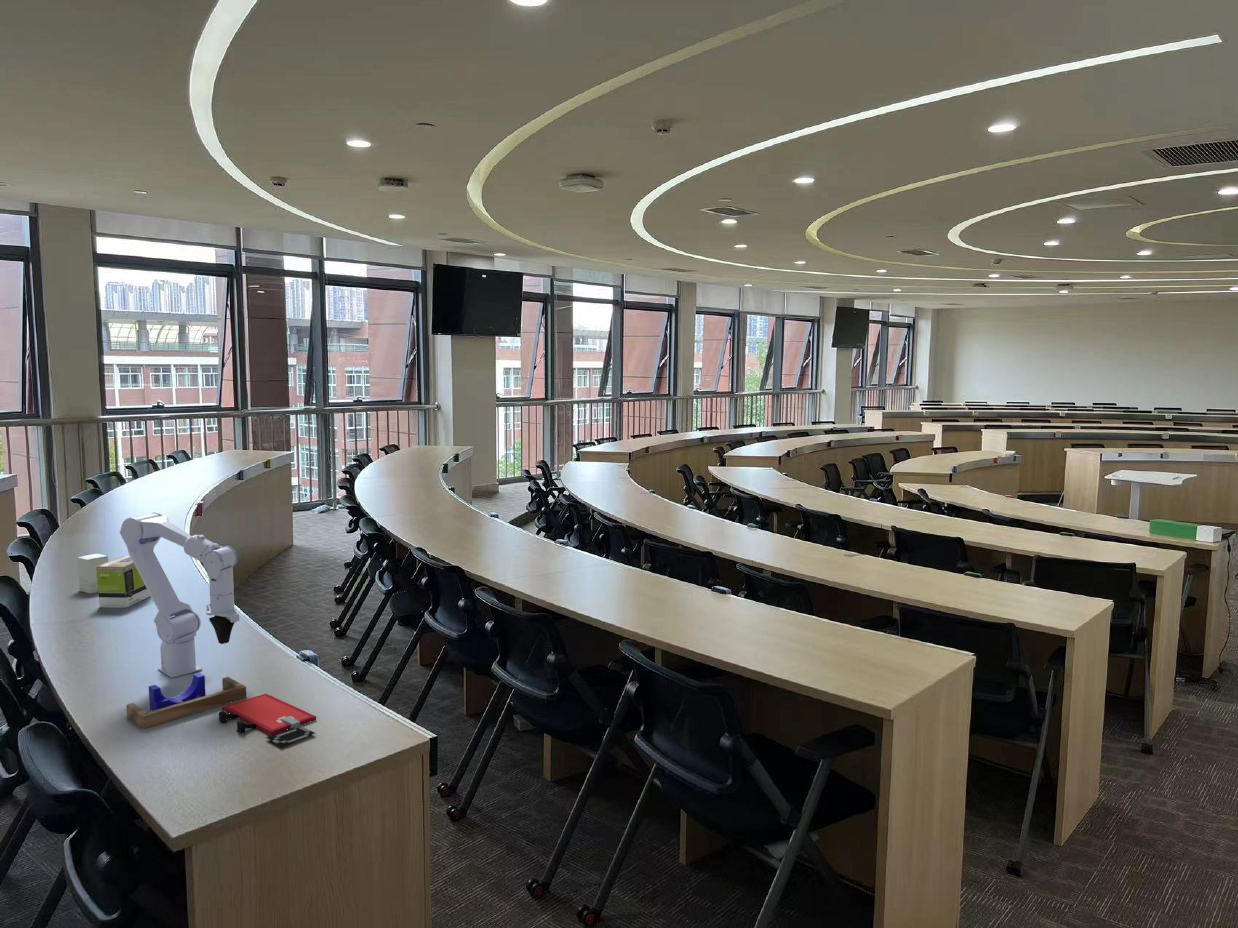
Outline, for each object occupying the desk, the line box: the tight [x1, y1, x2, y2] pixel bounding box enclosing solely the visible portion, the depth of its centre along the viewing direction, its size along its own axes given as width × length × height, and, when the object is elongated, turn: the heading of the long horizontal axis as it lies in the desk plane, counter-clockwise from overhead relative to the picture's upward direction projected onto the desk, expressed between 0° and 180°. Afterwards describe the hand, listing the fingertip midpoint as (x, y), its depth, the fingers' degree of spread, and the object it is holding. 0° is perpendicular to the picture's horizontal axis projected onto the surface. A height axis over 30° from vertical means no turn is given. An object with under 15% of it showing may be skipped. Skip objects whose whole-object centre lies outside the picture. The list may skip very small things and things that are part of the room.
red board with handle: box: [218, 693, 317, 746], centre depth 196 cm, size 30×3×15 cm
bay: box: [126, 676, 248, 730], centre depth 203 cm, size 10×24×3 cm, turn 140°
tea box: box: [96, 555, 151, 609], centre depth 289 cm, size 15×10×15 cm, turn 178°
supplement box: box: [76, 553, 109, 594], centre depth 303 cm, size 7×7×13 cm
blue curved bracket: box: [148, 672, 207, 712], centre depth 204 cm, size 12×4×6 cm, turn 141°
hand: (223, 642), depth 222 cm, fingers closed
